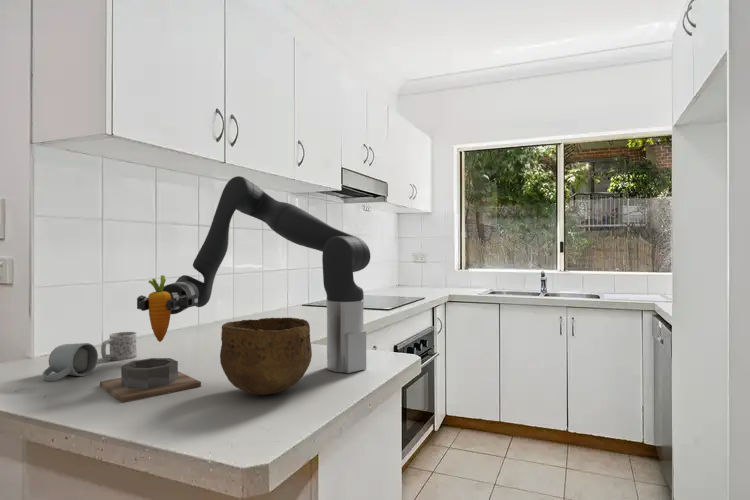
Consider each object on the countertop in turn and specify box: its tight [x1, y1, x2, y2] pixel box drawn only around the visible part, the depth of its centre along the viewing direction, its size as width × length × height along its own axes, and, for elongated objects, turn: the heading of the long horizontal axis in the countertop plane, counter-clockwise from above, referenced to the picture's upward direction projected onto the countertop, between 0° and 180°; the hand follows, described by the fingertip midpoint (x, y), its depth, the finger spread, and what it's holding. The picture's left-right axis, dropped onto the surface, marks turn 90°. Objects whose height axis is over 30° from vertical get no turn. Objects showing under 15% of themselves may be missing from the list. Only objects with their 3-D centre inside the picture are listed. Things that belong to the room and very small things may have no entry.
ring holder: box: [99, 357, 202, 403], centre depth 107 cm, size 16×16×5 cm
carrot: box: [147, 275, 172, 343], centre depth 110 cm, size 5×5×15 cm
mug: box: [100, 331, 138, 361], centre depth 134 cm, size 10×7×7 cm
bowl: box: [219, 317, 313, 396], centre depth 102 cm, size 19×19×15 cm
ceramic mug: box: [42, 342, 99, 382], centre depth 116 cm, size 11×8×8 cm
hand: (156, 305), depth 107 cm, fingers closed on carrot, 5 cm apart
